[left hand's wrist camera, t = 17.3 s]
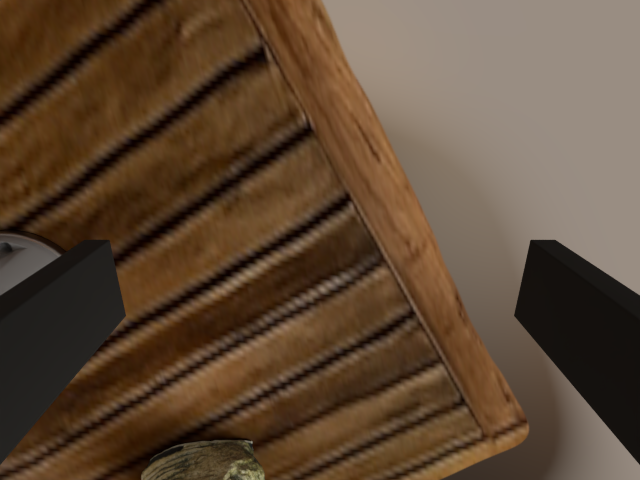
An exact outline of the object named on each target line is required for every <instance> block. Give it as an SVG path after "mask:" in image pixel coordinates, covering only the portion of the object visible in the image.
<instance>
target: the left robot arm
mask: <svg viewBox="0 0 640 480" xmlns="http://www.w3.org/2000/svg"><path fill="white" fill-rule="evenodd" d="M125 316H126V314H125V310H124V305H123V300H122V296H121V291H120V287H119V282H118V277H117V273H116V268H115V264H114V259H113V254H112V250H111V245H110V241H109V240H84V241H82V242H81V243H79V244H78V245H76V246H75V247H73V248H72V249H70V250H69V251H67V252H66V251H65V250H63V249H62V248H61V247H59V246H58V245H56V244H55V243H53V242H51V241H49V240H47V239H45V238H43V237H40V236H37V235H35V234H31V233H27V232H22V231H13V230H6V231H0V464H1V463H2V462H3V461H4V460H5V458H6V457H7V456H8V455H9V454H10V453H11V451H12V450H13V449H14V448H15V447H16V445H17V444H18V443H19V442H20V441H21V439H22V438H23V437H24V436H25V435H26V434H27V432H28V431H29V430H30V429H31V428H32V426H33V425H34V424H35V423H36V422H37V420H38V419H39V418H40V417H41V416H42V415H43V413H44V412H45V411H46V410H47V409H48V407H49V406H50V405H51V404H52V403H53V402H54V400H55V399H56V398H57V397H58V396H59V394H60V393H61V392H62V391H63V390H64V388H65V387H66V386H67V385H68V384H69V383H70V381H71V380H72V379H73V378H74V377H75V375H76V374H77V373H78V372H79V371H80V369H81V368H82V367H83V366H84V365H85V364H86V362H87V361H88V360H89V359H90V358H91V356H92V355H93V354H94V353H95V352H96V350H97V349H98V348H99V347H100V346H101V345H102V343H103V342H104V341H105V340H106V339H107V337H108V336H109V335H110V334H111V333H112V332H113V330H114V329H115V328H116V327H117V326H118V324H119V323H120V322H121V321H122V320H123V318H124V317H125ZM514 316H515V317H516V318H517V320H518V321H519V322H520V323H521V324H522V326H523V327H524V328H525V329H526V330H527V332H528V333H529V334H530V335H531V336H532V337H533V339H534V340H535V341H536V342H537V343H538V345H539V346H540V347H541V348H542V349H543V351H544V352H545V353H546V354H547V355H548V356H549V358H550V359H551V360H552V361H553V362H554V364H555V365H556V366H557V367H558V368H559V369H560V371H561V372H562V373H563V374H564V375H565V377H566V378H567V379H568V380H569V381H570V383H571V384H572V385H573V386H574V387H575V388H576V390H577V391H578V392H579V393H580V394H581V396H582V397H583V398H584V399H585V400H586V401H587V403H588V404H589V405H590V406H591V407H592V409H593V410H594V411H595V412H596V413H597V415H598V416H599V417H600V418H601V419H602V420H603V422H604V423H605V424H606V425H607V426H608V428H609V429H610V430H611V431H612V432H613V434H614V435H615V436H616V437H617V438H618V439H619V441H620V442H621V443H622V444H623V445H624V446H625V448H626V449H627V450H628V451H629V453H630V454H631V455H632V456H633V457H634V458H635V460H636V461H637V462H638V463H639V464H640V295H638V294H637V293H635V292H634V291H632V290H631V289H629V288H627V287H626V286H625V285H623V284H621V283H620V282H618V281H617V280H615V279H614V278H612V277H611V276H609V275H608V274H606V273H605V272H603V271H602V270H600V269H599V268H597V267H596V266H594V265H593V264H591V263H590V262H588V261H586V260H585V259H583V258H582V257H580V256H579V255H577V254H576V253H574V252H573V251H571V250H570V249H568V248H567V247H565V246H564V245H562V244H561V243H559V242H558V241H556V240H531V241H530V245H529V250H528V254H527V259H526V264H525V268H524V273H523V277H522V282H521V287H520V291H519V296H518V300H517V305H516V310H515V314H514Z"/></svg>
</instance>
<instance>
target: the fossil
mask: <svg viewBox="0 0 640 480" xmlns="http://www.w3.org/2000/svg"><path fill="white" fill-rule="evenodd" d="M141 480H265V477H264V470H263V468H262V466H261V465H260V464H259V463H258V461H257V460H256V458H255V457H254V456H253V448H252V441H246V440H214V441H199V442H192V443H185V444H181V445H176V446H173V447H171V448H169V449H167V450H165V451H163V452H162V453H159V454H157V455H155V456H154V457H153V458H152V459H150V462H149V464H148V466H147V467H146V468H145V470H144V471H143V472H142V475H141Z"/></svg>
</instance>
